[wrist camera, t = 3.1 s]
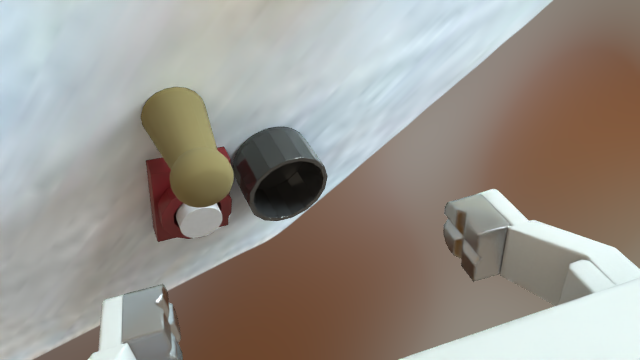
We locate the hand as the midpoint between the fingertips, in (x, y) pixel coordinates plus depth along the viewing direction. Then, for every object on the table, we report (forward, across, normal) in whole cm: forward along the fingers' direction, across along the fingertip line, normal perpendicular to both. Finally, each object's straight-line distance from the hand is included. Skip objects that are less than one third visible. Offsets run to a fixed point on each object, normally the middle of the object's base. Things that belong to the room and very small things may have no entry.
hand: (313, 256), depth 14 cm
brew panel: (+36, +6, +22) cm, 43 cm away
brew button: (+33, +6, +22) cm, 40 cm away
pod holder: (+38, -4, +21) cm, 43 cm away
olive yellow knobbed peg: (+35, +5, +12) cm, 37 cm away
